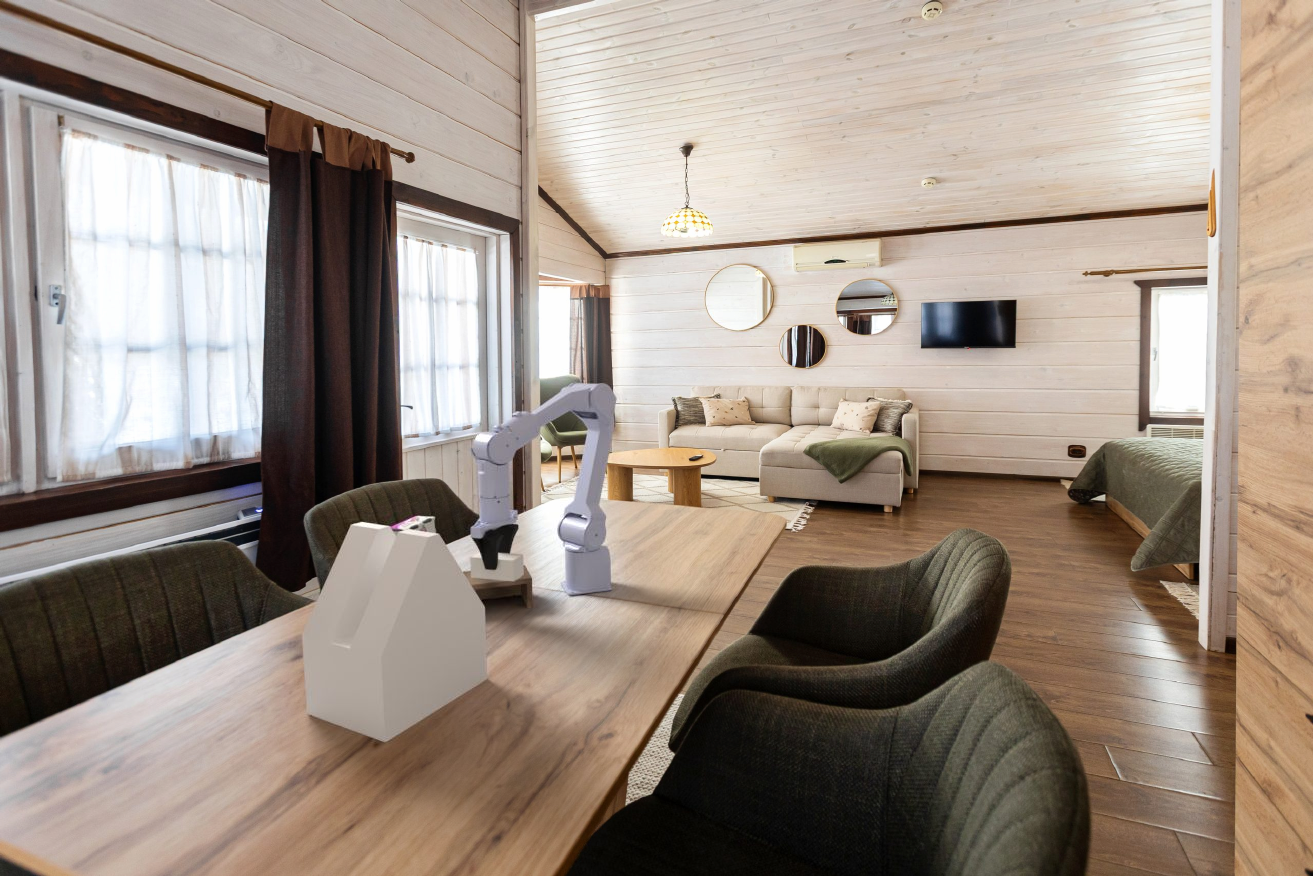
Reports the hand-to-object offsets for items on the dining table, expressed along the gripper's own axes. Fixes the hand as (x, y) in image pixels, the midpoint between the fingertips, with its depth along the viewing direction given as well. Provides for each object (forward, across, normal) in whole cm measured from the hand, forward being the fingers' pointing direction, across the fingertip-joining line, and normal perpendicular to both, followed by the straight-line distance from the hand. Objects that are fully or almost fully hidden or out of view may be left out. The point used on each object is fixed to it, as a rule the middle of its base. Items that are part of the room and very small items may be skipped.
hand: (496, 565), depth 127 cm
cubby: (+10, +5, +4) cm, 12 cm away
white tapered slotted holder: (+10, -32, -1) cm, 33 cm away
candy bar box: (+10, +3, +21) cm, 23 cm away
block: (+2, 0, 0) cm, 2 cm away
